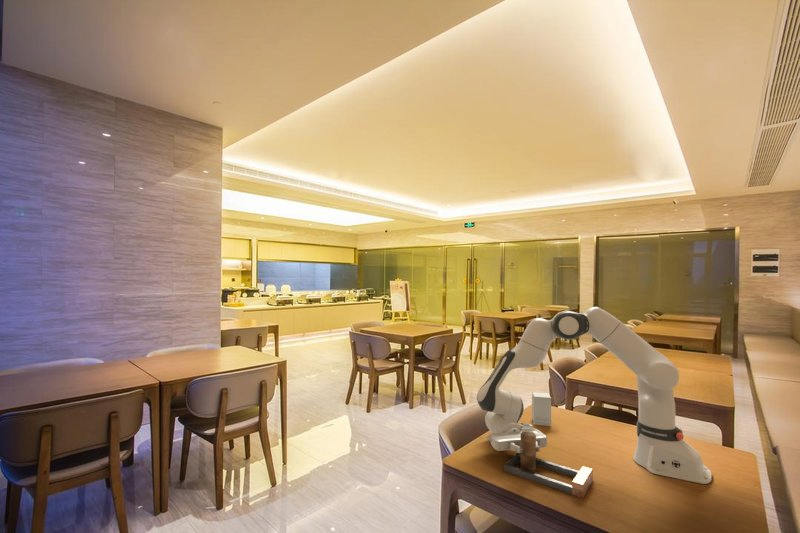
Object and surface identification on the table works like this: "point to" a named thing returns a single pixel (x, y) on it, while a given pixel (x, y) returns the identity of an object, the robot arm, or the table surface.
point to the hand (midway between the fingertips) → (529, 450)
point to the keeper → (528, 451)
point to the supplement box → (541, 409)
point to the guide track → (578, 484)
